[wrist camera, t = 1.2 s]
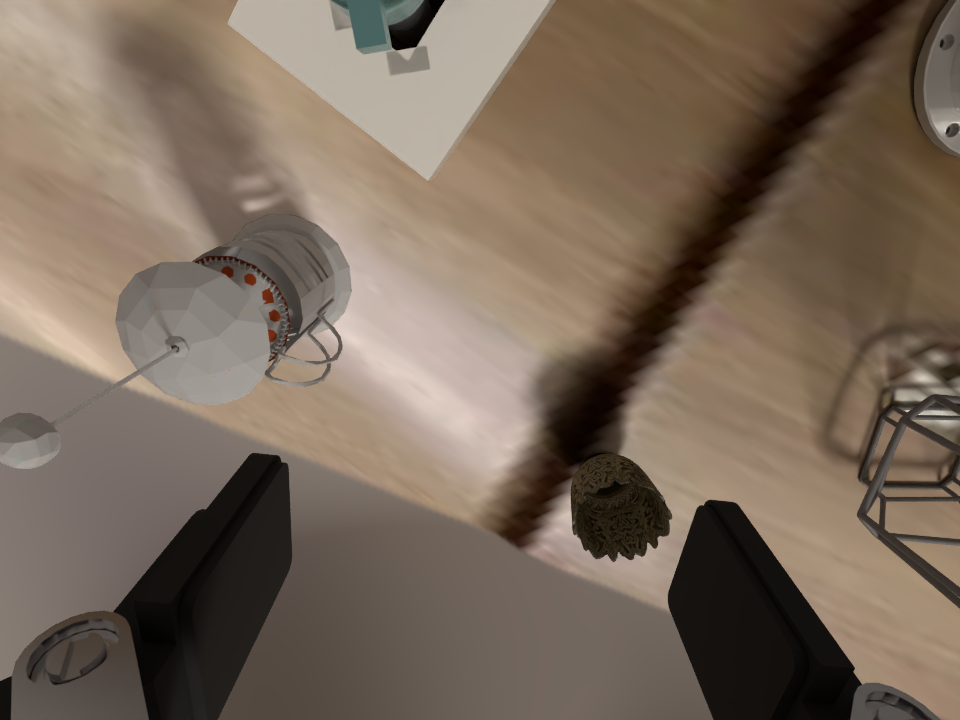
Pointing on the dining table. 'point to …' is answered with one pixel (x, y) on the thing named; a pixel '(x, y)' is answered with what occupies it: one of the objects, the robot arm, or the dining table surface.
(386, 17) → the teal strapped cylinder
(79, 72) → the dining table surface
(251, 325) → the french press
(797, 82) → the dining table surface
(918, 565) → the geometric lantern
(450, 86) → the block
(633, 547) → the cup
